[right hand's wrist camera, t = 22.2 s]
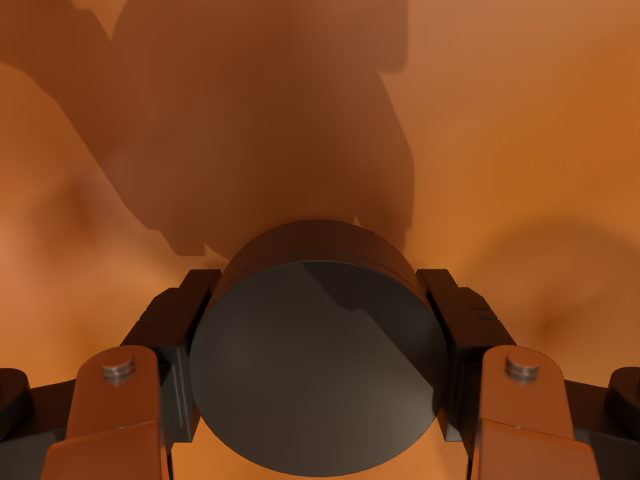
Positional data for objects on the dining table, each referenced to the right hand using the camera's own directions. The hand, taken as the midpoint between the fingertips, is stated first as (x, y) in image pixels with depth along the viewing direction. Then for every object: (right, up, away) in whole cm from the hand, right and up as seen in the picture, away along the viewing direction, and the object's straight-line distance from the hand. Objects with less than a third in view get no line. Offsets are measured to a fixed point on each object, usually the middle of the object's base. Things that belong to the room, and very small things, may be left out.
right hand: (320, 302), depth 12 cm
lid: (0, -1, -3) cm, 3 cm away
